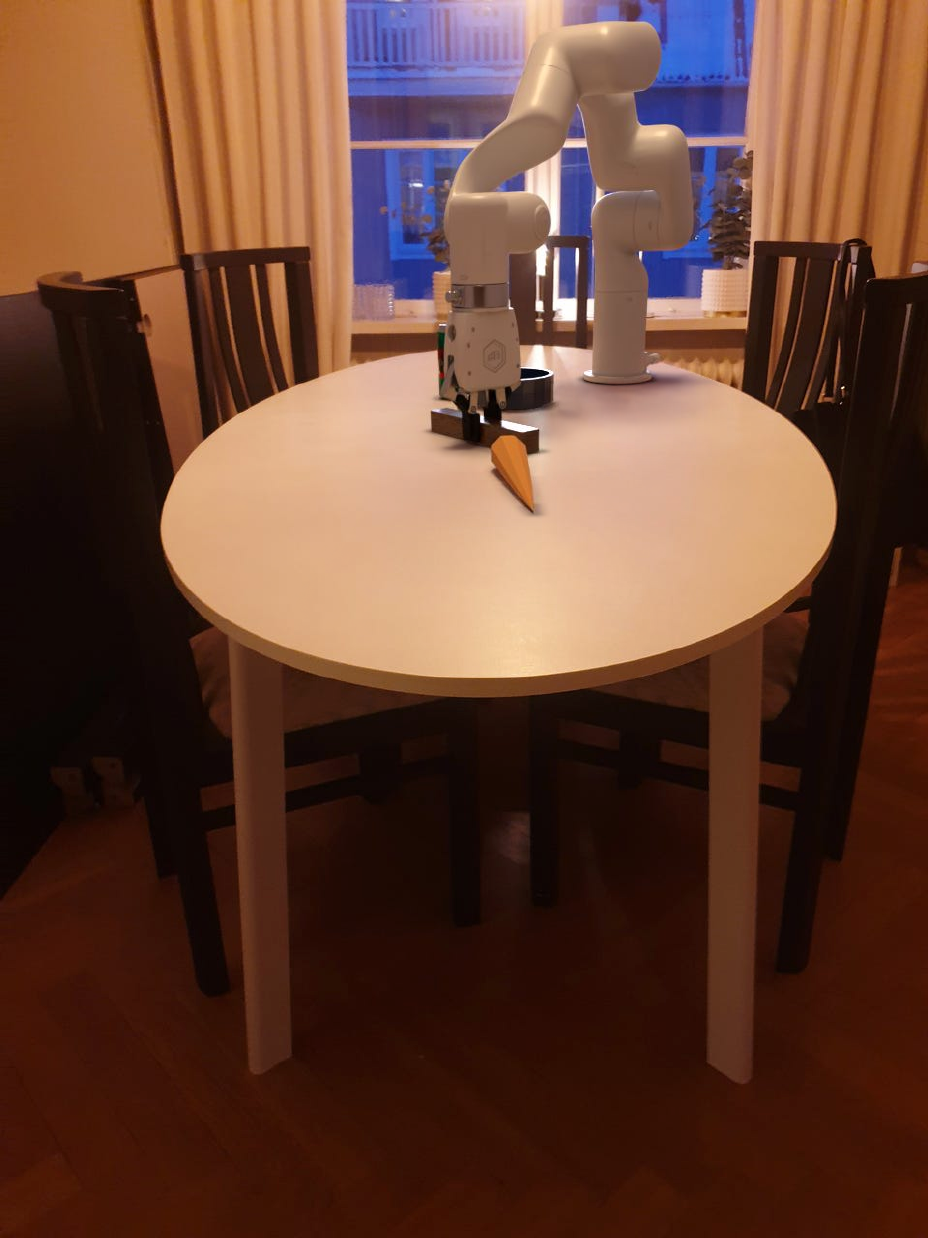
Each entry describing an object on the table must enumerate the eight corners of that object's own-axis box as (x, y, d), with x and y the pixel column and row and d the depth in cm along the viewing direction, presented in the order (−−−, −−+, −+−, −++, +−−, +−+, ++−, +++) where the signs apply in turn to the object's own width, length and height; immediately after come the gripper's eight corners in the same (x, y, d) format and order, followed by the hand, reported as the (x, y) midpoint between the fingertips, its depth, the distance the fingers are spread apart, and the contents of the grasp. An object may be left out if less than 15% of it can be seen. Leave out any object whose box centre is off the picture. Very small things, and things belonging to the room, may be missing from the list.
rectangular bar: (447, 428, 132) (447, 407, 131) (539, 451, 118) (539, 428, 117) (431, 431, 131) (430, 410, 130) (521, 455, 116) (521, 432, 115)
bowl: (516, 394, 156) (516, 364, 154) (569, 404, 147) (570, 373, 144) (456, 404, 149) (455, 373, 147) (507, 416, 139) (507, 383, 137)
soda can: (465, 400, 152) (463, 326, 147) (436, 400, 153) (433, 326, 148) (471, 395, 157) (469, 322, 152) (442, 394, 158) (440, 322, 153)
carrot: (496, 471, 112) (482, 439, 110) (529, 456, 111) (516, 424, 109) (521, 537, 95) (505, 501, 92) (561, 520, 94) (545, 483, 92)
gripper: (446, 304, 109) (451, 453, 117) (546, 295, 119) (544, 434, 126) (411, 301, 115) (418, 444, 122) (509, 292, 124) (509, 426, 131)
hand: (482, 437), depth 124 cm, fingers closed on rectangular bar, 3 cm apart
